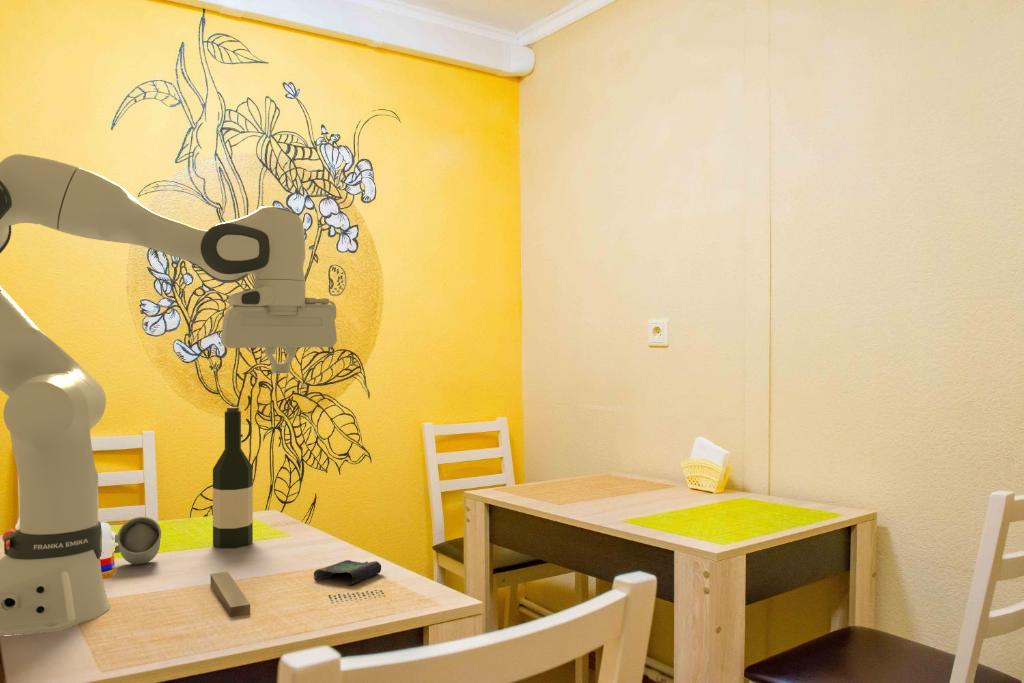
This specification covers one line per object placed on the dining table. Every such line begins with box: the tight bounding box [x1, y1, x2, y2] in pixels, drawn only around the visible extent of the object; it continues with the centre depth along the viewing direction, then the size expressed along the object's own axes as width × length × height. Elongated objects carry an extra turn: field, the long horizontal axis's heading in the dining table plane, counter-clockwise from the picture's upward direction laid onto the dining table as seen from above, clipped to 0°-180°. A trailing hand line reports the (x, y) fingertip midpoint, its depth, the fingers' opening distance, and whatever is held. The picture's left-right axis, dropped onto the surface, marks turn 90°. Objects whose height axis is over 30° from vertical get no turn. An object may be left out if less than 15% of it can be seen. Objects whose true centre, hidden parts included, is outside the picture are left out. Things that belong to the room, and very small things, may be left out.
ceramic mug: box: [113, 516, 162, 566], centre depth 158 cm, size 11×8×8 cm
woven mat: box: [328, 589, 386, 604], centre depth 133 cm, size 10×11×2 cm
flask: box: [313, 559, 382, 587], centre depth 148 cm, size 9×3×11 cm
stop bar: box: [210, 571, 251, 618], centre depth 135 cm, size 3×20×3 cm, turn 29°
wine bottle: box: [212, 406, 254, 549], centre depth 175 cm, size 8×8×30 cm
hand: (280, 373), depth 144 cm, fingers closed
